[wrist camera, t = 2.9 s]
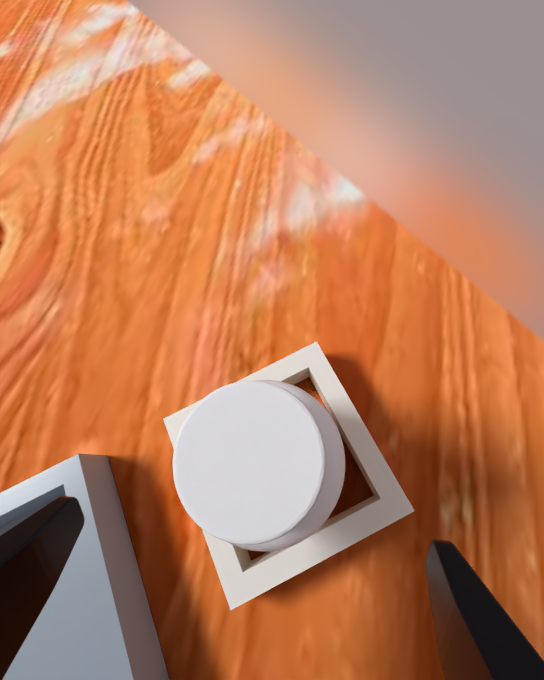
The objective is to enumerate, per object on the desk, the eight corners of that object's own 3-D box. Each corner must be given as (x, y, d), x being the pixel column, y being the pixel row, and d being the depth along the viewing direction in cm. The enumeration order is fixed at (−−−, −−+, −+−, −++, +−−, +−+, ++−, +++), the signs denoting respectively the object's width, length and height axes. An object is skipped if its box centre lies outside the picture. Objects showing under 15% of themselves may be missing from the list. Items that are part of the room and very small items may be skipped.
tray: (174, 696, 15) (147, 737, 13) (-65, 826, 14) (-138, 895, 12) (107, 455, 19) (78, 453, 17) (-83, 551, 18) (-140, 563, 16)
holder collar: (403, 505, 16) (414, 511, 15) (240, 593, 16) (230, 610, 14) (316, 353, 20) (316, 341, 18) (178, 423, 19) (163, 418, 17)
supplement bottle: (303, 391, 19) (292, 321, 10) (356, 487, 17) (401, 510, 8) (215, 438, 19) (119, 409, 10) (258, 541, 17) (188, 629, 8)
